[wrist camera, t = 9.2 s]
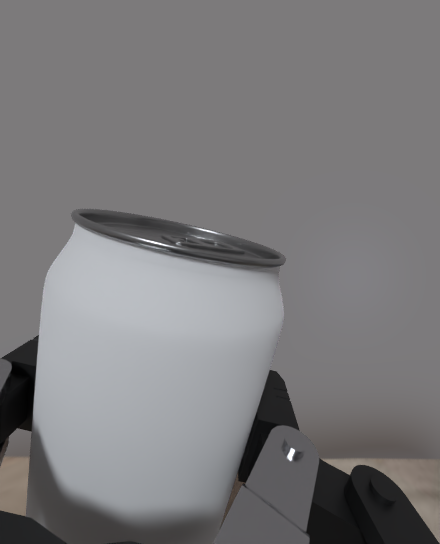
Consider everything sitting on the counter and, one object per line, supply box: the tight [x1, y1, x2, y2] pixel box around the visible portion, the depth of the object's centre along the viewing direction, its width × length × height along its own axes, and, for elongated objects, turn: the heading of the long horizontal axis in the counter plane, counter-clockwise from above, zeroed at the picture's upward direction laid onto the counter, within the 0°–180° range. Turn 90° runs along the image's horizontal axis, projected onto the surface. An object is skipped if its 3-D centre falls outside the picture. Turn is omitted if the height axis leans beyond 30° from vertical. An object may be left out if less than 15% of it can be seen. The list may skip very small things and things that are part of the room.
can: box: [26, 209, 286, 544], centre depth 8 cm, size 6×6×12 cm
